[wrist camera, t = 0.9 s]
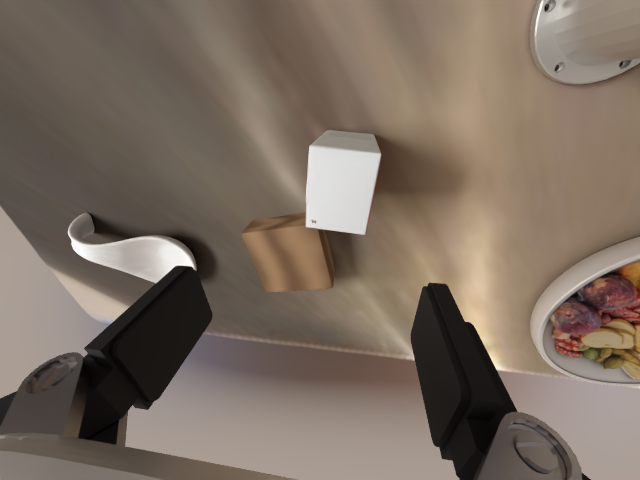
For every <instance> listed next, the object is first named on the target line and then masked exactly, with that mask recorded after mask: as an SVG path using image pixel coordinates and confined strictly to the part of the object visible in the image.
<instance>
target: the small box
mask: <svg viewBox="0 0 640 480" xmlns="http://www.w3.org/2000/svg"><path fill="white" fill-rule="evenodd" d="M381 156H382V154H381V152H380V149H379V147H378V144H377V141H376V139H375V136H374V135H373V134H364V133H354V132H344V131H334V130H327V131H326V132H325V133H324V134H322V135H321V136H320V137H319V138H318V139H317V140H316V141H315V142H314V143H313V144H311V145H310V147H309V158H308V174H307V188H306V227H309V228H317V229H324V230H332V231H339V232H347V233H354V234H362V235H365V234H366V231H367V227H368V222H369V217H370V212H371V207H372V202H373V197H374V192H375V187H376V182H377V176H378V172H379V167H380V161H381Z"/></svg>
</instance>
